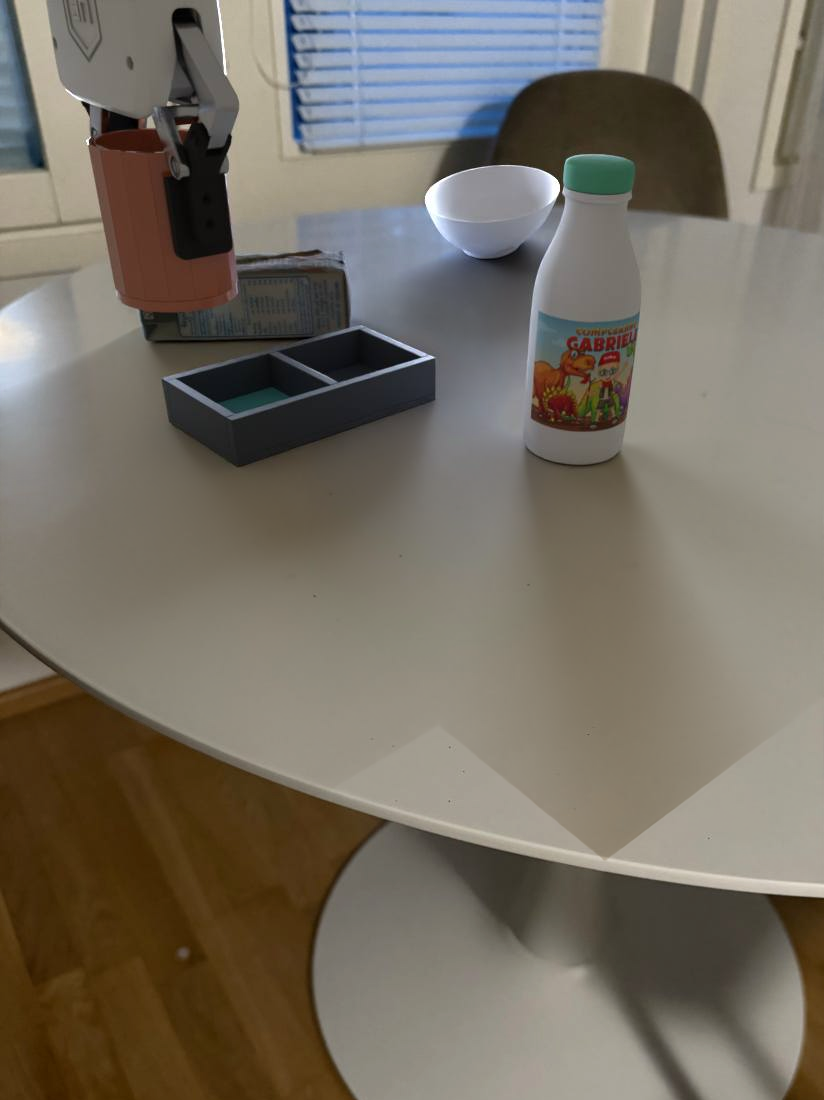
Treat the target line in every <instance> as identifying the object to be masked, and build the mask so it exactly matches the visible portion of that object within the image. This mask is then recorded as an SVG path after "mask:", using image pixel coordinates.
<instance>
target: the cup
mask: <svg viewBox="0 0 824 1100" xmlns="http://www.w3.org/2000/svg"><path fill="white" fill-rule="evenodd" d="M177 129H178V132H179V135H180V138H181V141H182V144H184V141H185V138H186V136H187V133H188V130H189V128H177ZM86 142H87V147H88V153H89V158H90V164H91V168H92V175H93V179H94V185H95V189H96V194H97V199H98V200H97V201H98V205H99V210H100V215H101V222H102V226H103V231H104V236H105V237H104V238H105V242H106V248H107V252H108V257H109V262H110V263H109V264H110V270H111V273H112V278H113V284H114V289H115V294H116V299H117V300H118V301H119V302H120V303H121V304H123V305H124V306H127V307H128V308H133V309H136V310H138V311H139V310H145V311H152V312H189V311H198V310H204V309H209V308H213V307H216V306H219V305H222V304H225V303H227V302H229V301H231V300H232V299H234V298H235V297H236V296H237V294H238V283H237V282H238V275H237V267H236V258H235V254H236V251H235V241H234V232H233V223H232V213H231V207H230V206H231V205H230V204H231V203H230V196H229V187H228V178H227V173H226V174H225V180H226V189H227V198H228V207H229V215H230V224H231V233H232V242H233V247H232V249H231V251H230V252H228V253H223V254H218V255H212V256H207V257H201V258H196V259H191V260H183V259H181V258H179V257H178V256H176V254H175V251H174V245H173V238H172V232H171V225H170V218H169V212H168V205H167V198H166V192H165V185H164V178H163V177H169V176H172V174H171V171H170V168H169V165H168V162H167V159H166V157H165V154H164V151H163V148H162V145H161V142H160V139H159V136H158V133H157V130H156V127H147V128H138V129H137V128H135V129H124V130H115V131H110V132H105V133H100V134H96V135H94V136H92V137H88V138H87V139H86Z"/></svg>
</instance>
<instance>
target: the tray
mask: <svg viewBox="0 0 824 1100" xmlns="http://www.w3.org/2000/svg"><path fill="white" fill-rule="evenodd" d="M436 359H437V358H436V356H435V357H434V356H432V355H430V354H427V353H425V352H423V351H420V350H418V349H416V348H414V347H412V346H409V345H407V344H405V343H403V342H401V341H398V340H395V339H393V338H391V337H389V336H386V335H384V334H382V333H380V332H378V331H375V330H372V329H370V328H369V327H367V326H364V325H362V324H358V325H354V326H350V328H347V329H343V330H340V331H336V332H332V333H328V334H325V335H321V336H317V337H309V338H307V339H302V340H299V341H295V342H291V343H288V344H287V343H286V344H284V345H280V346H276V347H272V348H269V349H264V350H261V351H257V352H253V353H250V354H246V355H243V356H239V357H235V358H231V359H227V360H223V361H220V362H216V363H211V364H209V365H205V366H200V367H198V368H193V369H190V370H186V371H182V372H179V373H175V374H171V375H167V376H164V377H161V384H162V390H163V395H164V396H163V397H164V402H165V408H166V412H167V418H168V422H169V423H170V424H171V425H173V426H174V427H176V428H178V429H179V430H180V431H182V432H183V433H185V434H187V435H188V436H190V437H191V438H192V439H194V440H196V441H197V442H199V443H200V444H202V445H204V446H205V447H207V448H208V449H209V450H211V451H213V452H214V453H216V454H218V455H219V456H220V457H222V458H223V459H225V460H226V461H228V462H229V463H231V464H233V465H234V466H236V467H241V466H245V465H248V464H251V463H254V462H256V461H260V460H263V459H265V458H268V457H271V456H274V455H277V454H280V453H283V452H286V451H289V450H291V449H295V448H297V447H300V446H304V445H307V444H309V443H312V442H315V441H318V440H321V439H324V438H327V437H330V436H333V435H336V434H338V433H341V432H344V431H347V430H350V429H353V428H356V427H360V426H362V425H366V424H367V423H371V422H374V421H376V420H380V419H383V418H385V417H388V416H392V415H394V414H397V413H401V412H403V411H407V410H409V409H412V408H414V407H418V406H420V405H423V404H427V403H430V402H432V401H435V400H436V365H437V364H436V362H437V361H436Z"/></svg>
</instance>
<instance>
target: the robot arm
mask: <svg viewBox="0 0 824 1100" xmlns="http://www.w3.org/2000/svg"><path fill="white" fill-rule="evenodd" d="M45 3H46V9H47V17H48V22H49V28H50V34H51V41H52V46H53V52H54V53H53V54H54V60H55V64H56V69H57V75H58V78H59V81H60V84H61V85H62V86H63V88H64V89H65V90H66V91H67V92H68V93H69V94H70V95H71V96H73V97H74V98H76V99H77V100H79V101H80V103H81V105H82V107H83V108H84V109H85V111H86V113H87V115H88V118H89V136H90V137H92V136H94V135H96V134H100V133H105V132H110V131H115V130H124V129H135V128H137V129H138V128H148V118H150V117H151V118H152V121H153V124H154V128H156V130H157V133H158V136H159V139H160V142H161V145H162V148H163V151H164V154H165V157H166V159H167V162H168V165H169V168H170V171H171V174H172V176H169V177H163V178H164V185H165V192H166V198H167V205H168V212H169V218H170V225H171V232H172V238H173V245H174V251H175V254H176V256H178V257H179V258H181V259H183V260H191V259H196V258H201V257H207V256H212V255H218V254H223V253H228V252H230V251H231V249H232V247H233V242H232V233H231V224H230V215H229V207H228V198H227V189H226V180H225V174H226V175H227V174H228V173H229V170H230V161H229V156H228V152H229V150H230V148H231V145H232V140H233V135H232V132H233V129H234V126H235V123H236V120H237V118H238V116H239V112H240V101H239V97H238V94H237V93H236V91H235V89H234V87H233V85H232V84H231V81H230V80H229V78H228V76H227V69H226V58H225V46H224V38H223V37H224V36H223V29H222V20H221V12H220V7H219V6H220V5H219V0H45ZM168 102H170V103H173V104H175V105H168ZM186 125H189V127H188V129H189V130H188V133H187V136H186V138H185V141H184V144H182V141H181V138H180V135H179V132H178V129H179V128H178V127H177V126H186ZM90 137H89V138H90Z"/></svg>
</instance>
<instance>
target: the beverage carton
mask: <svg viewBox="0 0 824 1100" xmlns="http://www.w3.org/2000/svg"><path fill="white" fill-rule="evenodd" d="M235 258H236V267H237V275H238V282H237V283H238V294H237V296H236V297H235V298H234V299H232V300H231V301H229V302H227V303H225V304H222V305H219V306H216V307H213V308H209V309H204V310H198V311H189V312H152V311H145V310H139V309H138V314H139V321H140V323H141V328H142V333H143V337H144V339H145V341H147V342H153V341H154V342H155V341H215V340H216V341H217V340H226V341H228V340H245V339H246V340H257V339H258V340H259V339H278V338H279V339H280V338H313V337H317V336H321V335H325V334H328V333H332V332H336V331H340V330H343V329H347V328H351V323H352V321H351V320H352V303H353V300H352V286H351V278H350V273H349V268H348V263H347V259H346V254H345V252H344V251H343V250H340V251H335V250H334V251H325V250H321V249H319V248H315V249H309V250H302V251H295V252H292V251H291V252H290V251H288V252H287V251H286V252H263V253H261V252H260V253H259V252H256V253H255V252H254V253H235Z"/></svg>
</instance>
